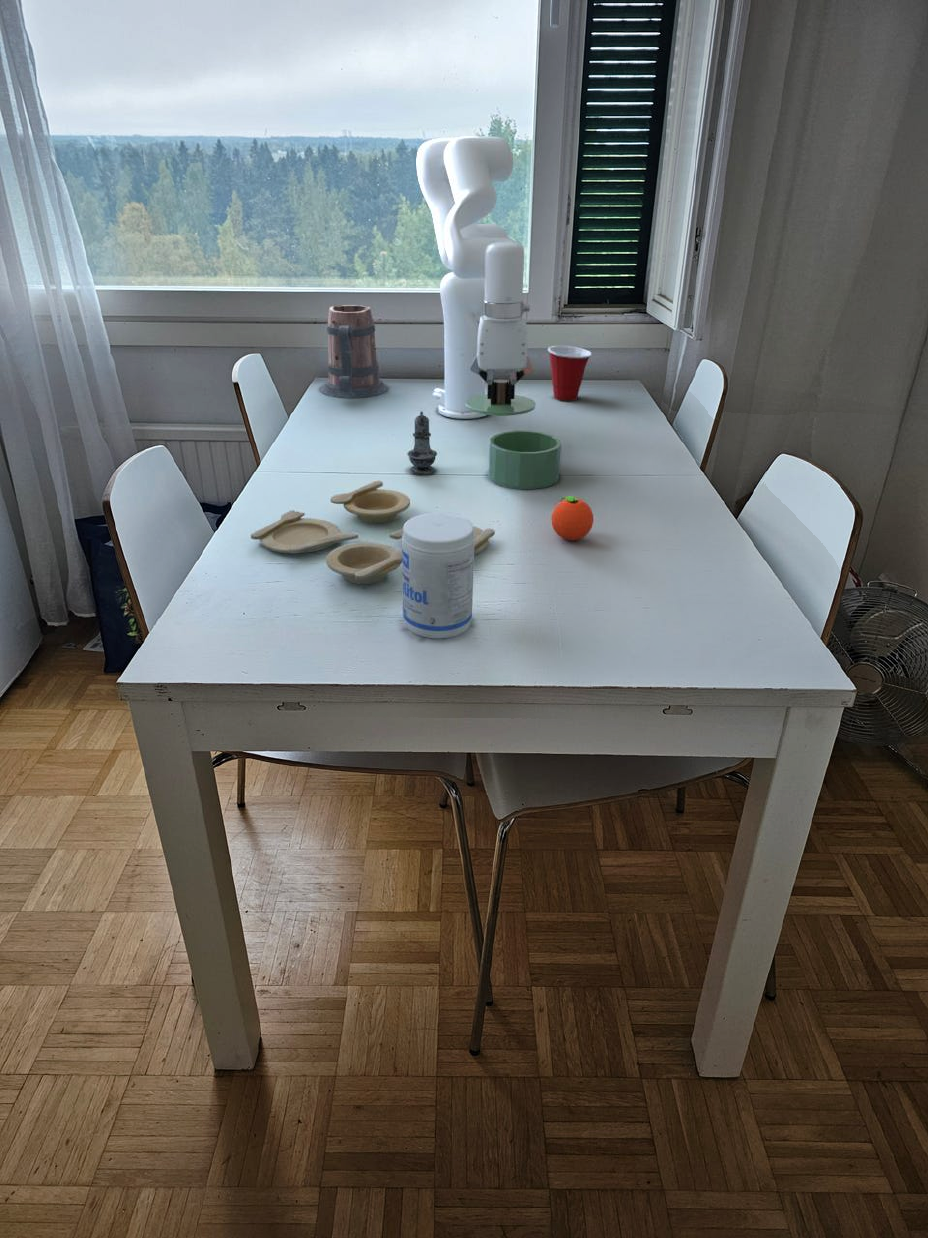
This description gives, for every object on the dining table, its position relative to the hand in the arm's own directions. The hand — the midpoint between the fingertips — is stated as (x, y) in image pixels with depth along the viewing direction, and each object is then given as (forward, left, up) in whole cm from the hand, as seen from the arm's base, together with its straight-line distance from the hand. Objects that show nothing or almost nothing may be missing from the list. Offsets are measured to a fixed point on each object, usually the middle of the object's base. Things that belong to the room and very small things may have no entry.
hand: (500, 401), depth 181 cm
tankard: (-53, +13, -10) cm, 55 cm away
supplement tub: (+34, -69, -10) cm, 77 cm away
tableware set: (+10, -54, -10) cm, 56 cm away
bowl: (+14, -13, -9) cm, 21 cm away
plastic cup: (-6, +41, -10) cm, 43 cm away
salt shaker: (-4, -22, -10) cm, 24 cm away
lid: (0, 0, -1) cm, 1 cm away
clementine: (+35, -33, -10) cm, 49 cm away
